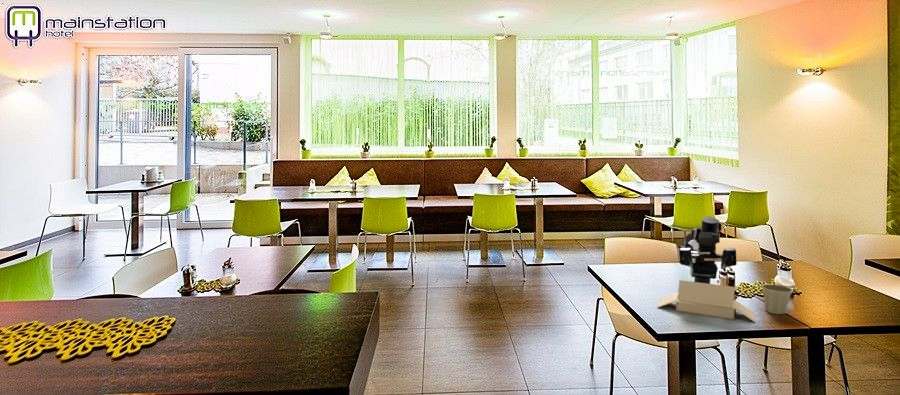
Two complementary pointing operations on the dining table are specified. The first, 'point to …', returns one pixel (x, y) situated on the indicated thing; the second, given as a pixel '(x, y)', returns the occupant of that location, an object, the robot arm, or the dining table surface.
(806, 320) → the dining table surface
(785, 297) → the flower pot
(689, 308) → the carton
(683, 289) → the flap
